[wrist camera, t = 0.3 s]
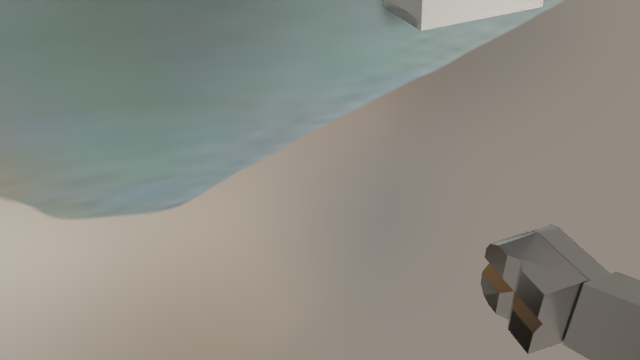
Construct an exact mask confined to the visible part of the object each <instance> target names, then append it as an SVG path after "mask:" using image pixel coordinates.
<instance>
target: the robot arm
mask: <svg viewBox="0 0 640 360" xmlns="http://www.w3.org/2000/svg"><path fill="white" fill-rule="evenodd" d="M485 258H486V259H487V261H488V262H489V264H488V265H487V267H486V268H485V269H484V270H483V272H482V279H481V286H482V290H483V294H484V297H485V299H486V300H487V302H488V304H489V306H490V307H491V308H492V310H493V311H494V312H495V313H496V314H498V315H500V316H502V317H504V318H507V319H508V330H509V331H510V332H511V334H512V335H513V336H514V337H515V339H516V340H517V341H518V342H519V344H520V345H521V346H522V347H523V349H524V350H525V351H526V352H527V354H529V353H532V352H535V351H538V350H541V349H544V348H547V347H550V346H553V345H556V344H559V343H562V342H563V345H565V346H567V347H568V348H570V349H572V350H574V351H576V352H577V353H579V354H581V355H583V356H584V357H586V358H588V359H589V360H640V280H638V279H635V278H632V277H630V276H627V275H624V274H621V273H618V272H614V273H611V274H610V273H609V272H608V271H607V270H606V269H605V268H604V267H603V266H602V265H600V264H599V263H598V262H597V261H596V260H595V259H594V258H593V257H591V256H590V255H589V254H588V253H587V252H586V251H585V250H584V249H582V248H581V247H580V246H579V245H578V244H577V243H576V242H574V240H572V239H571V238H570V237H569V236H568V235H567V234H566V233H565V232H564V231H562V230H561V229H560V228H559V227H557V226H555V225H549V226H546V227H542V228H539V229H536V230H532V231H530V232H525V233H521V234H518V235H515V236H512V237H509V238H506V239H503V240H500V241H497V242H494V243H491V244H490V245H489V246H488V247H487V248H486V253H485Z"/></svg>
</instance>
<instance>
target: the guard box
mask: <svg viewBox="0 0 640 360" xmlns="http://www.w3.org/2000/svg"><path fill="white" fill-rule="evenodd" d="M383 6H385V7H386V8H388V9H389V10H391V11H392V12H393V13H395V14H396V15H398V16H399V17H401V18H402V19H404V20H405V21H407V22H408V23H410V24H411V25H413V26H414V27H416V28H417V29H419V30H420V31H423V30H428V29H433V28H438V27H443V26H448V25H453V24H458V23H463V22H468V21H473V20H479V19H484V18H489V17H494V16H499V15H504V14H509V13H514V12H519V11H524V10H529V9H534V8H539V7H542V6H543V0H383Z"/></svg>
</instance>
